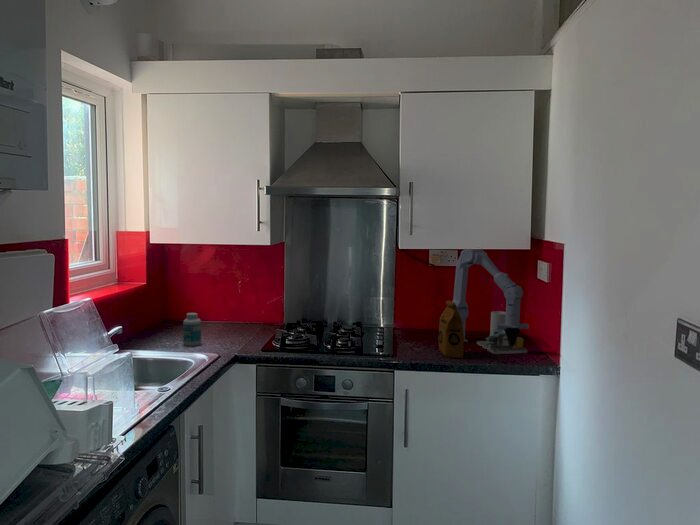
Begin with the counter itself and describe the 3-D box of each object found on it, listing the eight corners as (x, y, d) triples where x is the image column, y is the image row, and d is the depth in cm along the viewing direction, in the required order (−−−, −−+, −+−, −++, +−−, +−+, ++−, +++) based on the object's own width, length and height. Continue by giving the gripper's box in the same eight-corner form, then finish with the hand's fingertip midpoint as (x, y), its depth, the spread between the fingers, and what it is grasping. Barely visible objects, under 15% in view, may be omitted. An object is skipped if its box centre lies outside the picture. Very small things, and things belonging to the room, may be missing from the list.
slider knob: (516, 349, 227) (516, 338, 226) (512, 347, 230) (513, 337, 229) (522, 349, 227) (523, 338, 227) (519, 347, 230) (519, 337, 230)
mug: (510, 335, 259) (512, 311, 258) (517, 339, 250) (518, 314, 249) (487, 335, 258) (488, 311, 257) (492, 339, 250) (493, 314, 249)
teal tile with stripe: (490, 342, 236) (489, 339, 236) (486, 339, 240) (485, 337, 240) (511, 333, 237) (510, 331, 237) (507, 331, 242) (506, 329, 241)
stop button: (490, 342, 230) (490, 338, 230) (487, 340, 234) (487, 336, 234) (498, 342, 231) (498, 337, 231) (494, 340, 235) (495, 335, 234)
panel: (494, 354, 223) (494, 340, 223) (476, 343, 241) (477, 331, 241) (527, 353, 226) (527, 340, 226) (507, 342, 244) (507, 330, 243)
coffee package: (441, 358, 215) (443, 304, 213) (436, 350, 228) (438, 299, 226) (466, 358, 215) (468, 305, 213) (459, 350, 228) (461, 300, 226)
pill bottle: (180, 344, 231) (179, 313, 230) (195, 341, 236) (195, 311, 235) (189, 347, 226) (188, 316, 225) (204, 344, 231) (204, 313, 230)
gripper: (501, 316, 221) (499, 348, 222) (533, 315, 224) (531, 347, 225) (493, 313, 228) (492, 344, 229) (524, 312, 231) (523, 343, 232)
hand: (511, 345), depth 228 cm, fingers closed
